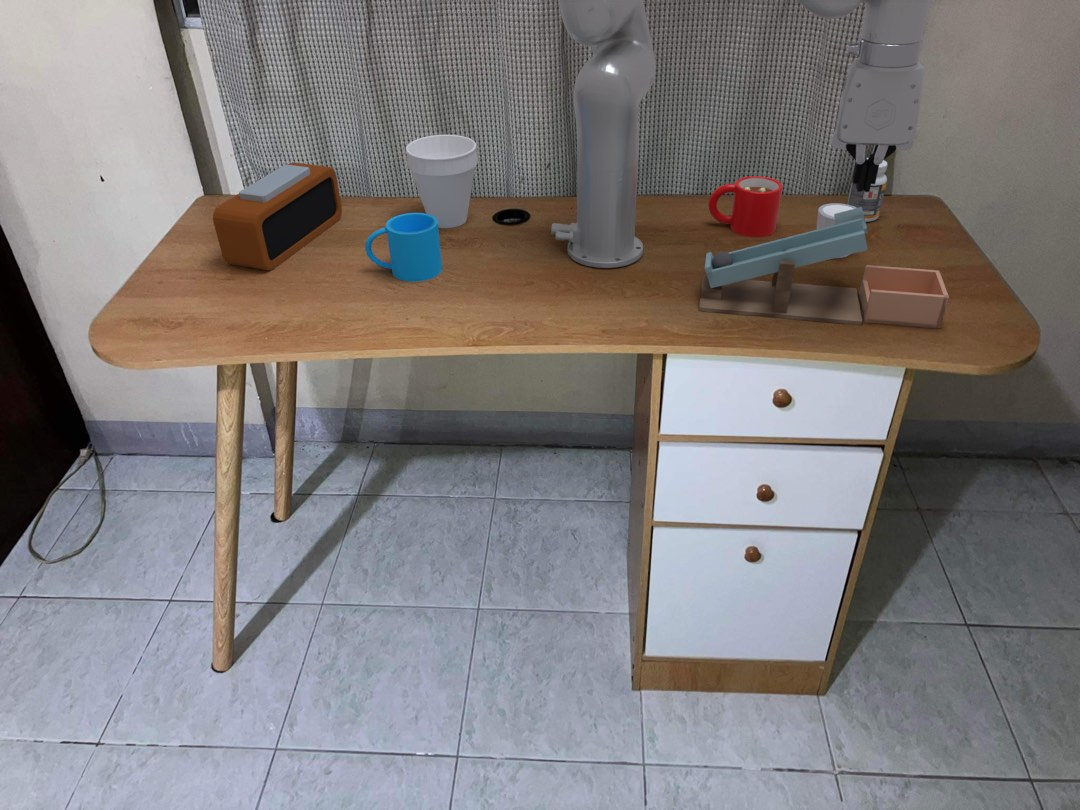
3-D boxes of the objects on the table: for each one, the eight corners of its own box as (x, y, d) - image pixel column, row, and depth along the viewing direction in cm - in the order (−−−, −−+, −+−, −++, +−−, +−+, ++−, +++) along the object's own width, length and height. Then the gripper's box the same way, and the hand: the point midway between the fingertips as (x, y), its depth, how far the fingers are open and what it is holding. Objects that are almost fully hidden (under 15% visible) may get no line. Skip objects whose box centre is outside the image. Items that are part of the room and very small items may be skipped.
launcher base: (698, 310, 123) (704, 259, 118) (702, 279, 130) (707, 229, 125) (861, 325, 118) (874, 272, 114) (855, 291, 126) (867, 240, 121)
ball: (711, 275, 123) (711, 257, 121) (712, 266, 125) (712, 248, 123) (732, 275, 122) (732, 257, 120) (733, 266, 124) (733, 248, 123)
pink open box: (863, 322, 119) (871, 291, 116) (858, 294, 126) (865, 265, 123) (939, 328, 117) (949, 297, 114) (930, 300, 124) (939, 270, 121)
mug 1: (443, 257, 139) (439, 211, 134) (441, 281, 132) (436, 233, 127) (372, 260, 138) (364, 214, 134) (365, 283, 132) (357, 236, 127)
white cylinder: (855, 261, 134) (865, 221, 130) (811, 258, 136) (819, 218, 132) (851, 243, 140) (860, 203, 136) (809, 240, 141) (817, 201, 137)
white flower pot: (444, 201, 158) (438, 129, 149) (495, 216, 152) (491, 142, 144) (399, 224, 150) (390, 149, 142) (451, 240, 144) (444, 163, 136)
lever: (711, 290, 122) (704, 269, 121) (714, 251, 133) (709, 231, 131) (872, 251, 114) (867, 228, 112) (863, 212, 124) (858, 191, 122)
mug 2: (706, 216, 150) (710, 174, 145) (774, 219, 148) (780, 176, 144) (706, 235, 144) (711, 191, 139) (777, 238, 142) (784, 194, 137)
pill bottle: (882, 222, 146) (895, 167, 140) (850, 223, 146) (861, 168, 140) (872, 209, 151) (885, 156, 145) (841, 210, 151) (852, 156, 145)
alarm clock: (267, 275, 135) (251, 209, 128) (224, 268, 137) (207, 203, 131) (344, 217, 153) (334, 157, 146) (305, 212, 155) (293, 152, 149)
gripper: (830, 60, 107) (809, 196, 117) (955, 61, 104) (921, 200, 115) (826, 45, 113) (807, 177, 123) (944, 46, 110) (914, 180, 120)
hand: (862, 188), depth 119 cm, fingers closed
